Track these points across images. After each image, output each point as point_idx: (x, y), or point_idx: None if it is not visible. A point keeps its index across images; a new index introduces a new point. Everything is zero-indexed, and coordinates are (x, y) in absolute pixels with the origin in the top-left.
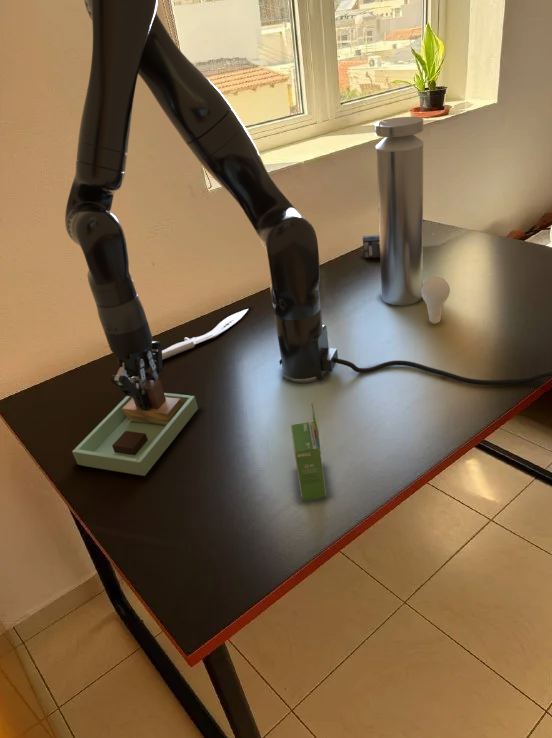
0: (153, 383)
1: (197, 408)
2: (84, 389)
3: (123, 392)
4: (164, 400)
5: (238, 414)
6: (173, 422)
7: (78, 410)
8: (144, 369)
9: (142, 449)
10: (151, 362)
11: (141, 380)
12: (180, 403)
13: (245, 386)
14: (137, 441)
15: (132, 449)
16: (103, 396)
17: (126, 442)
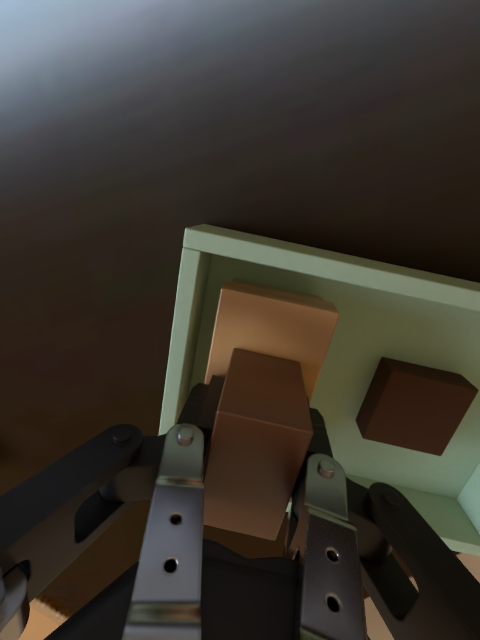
0: (247, 439)
1: (204, 225)
2: (120, 568)
3: (406, 581)
4: (245, 352)
5: (225, 14)
6: (388, 270)
7: None
8: (255, 578)
9: (431, 359)
10: (166, 564)
11: (357, 545)
12: (232, 284)
13: (15, 47)
14: (439, 385)
15: (476, 388)
16: (144, 524)
17: (434, 418)
